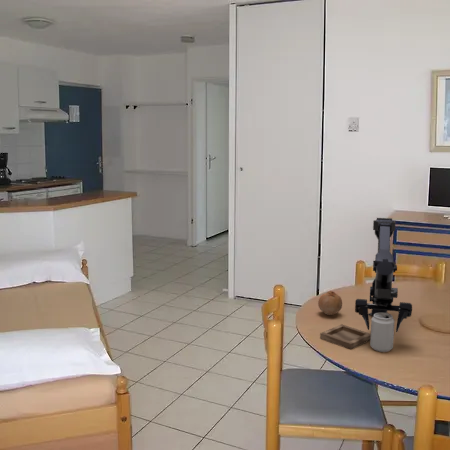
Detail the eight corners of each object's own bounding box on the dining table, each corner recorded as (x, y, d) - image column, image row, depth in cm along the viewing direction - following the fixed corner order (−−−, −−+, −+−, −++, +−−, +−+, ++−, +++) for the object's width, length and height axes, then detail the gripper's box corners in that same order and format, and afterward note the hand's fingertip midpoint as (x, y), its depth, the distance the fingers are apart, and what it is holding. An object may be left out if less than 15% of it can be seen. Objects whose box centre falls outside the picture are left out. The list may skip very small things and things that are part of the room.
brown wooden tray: (341, 329, 203) (341, 324, 202) (372, 339, 193) (372, 334, 193) (320, 338, 194) (320, 333, 194) (350, 349, 185) (351, 343, 184)
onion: (346, 317, 215) (347, 293, 214) (325, 320, 212) (326, 295, 210) (333, 309, 224) (334, 286, 222) (313, 312, 221) (314, 288, 219)
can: (393, 353, 181) (395, 319, 179) (370, 351, 183) (372, 318, 181) (391, 345, 189) (393, 312, 186) (369, 343, 190) (371, 310, 188)
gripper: (356, 276, 188) (354, 317, 179) (413, 280, 183) (414, 322, 175) (356, 291, 197) (354, 331, 188) (410, 295, 192) (410, 336, 184)
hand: (382, 330), depth 183 cm, fingers open, 9 cm apart
